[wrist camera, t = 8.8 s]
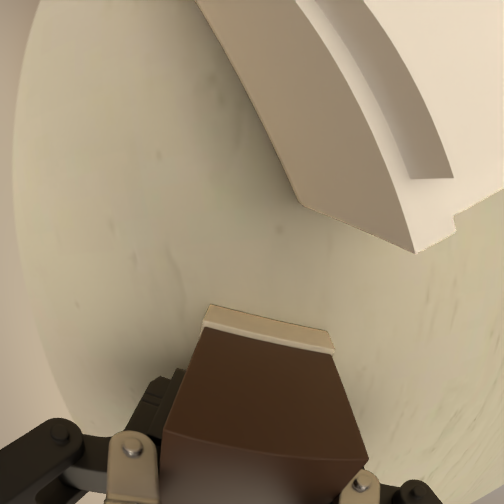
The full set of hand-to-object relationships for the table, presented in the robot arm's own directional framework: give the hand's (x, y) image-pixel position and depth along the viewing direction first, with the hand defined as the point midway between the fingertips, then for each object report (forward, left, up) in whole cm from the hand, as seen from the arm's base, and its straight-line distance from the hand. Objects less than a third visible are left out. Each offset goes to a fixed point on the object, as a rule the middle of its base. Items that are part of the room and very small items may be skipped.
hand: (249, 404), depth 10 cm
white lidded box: (+1, +20, -2) cm, 20 cm away
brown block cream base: (0, -3, -2) cm, 4 cm away
